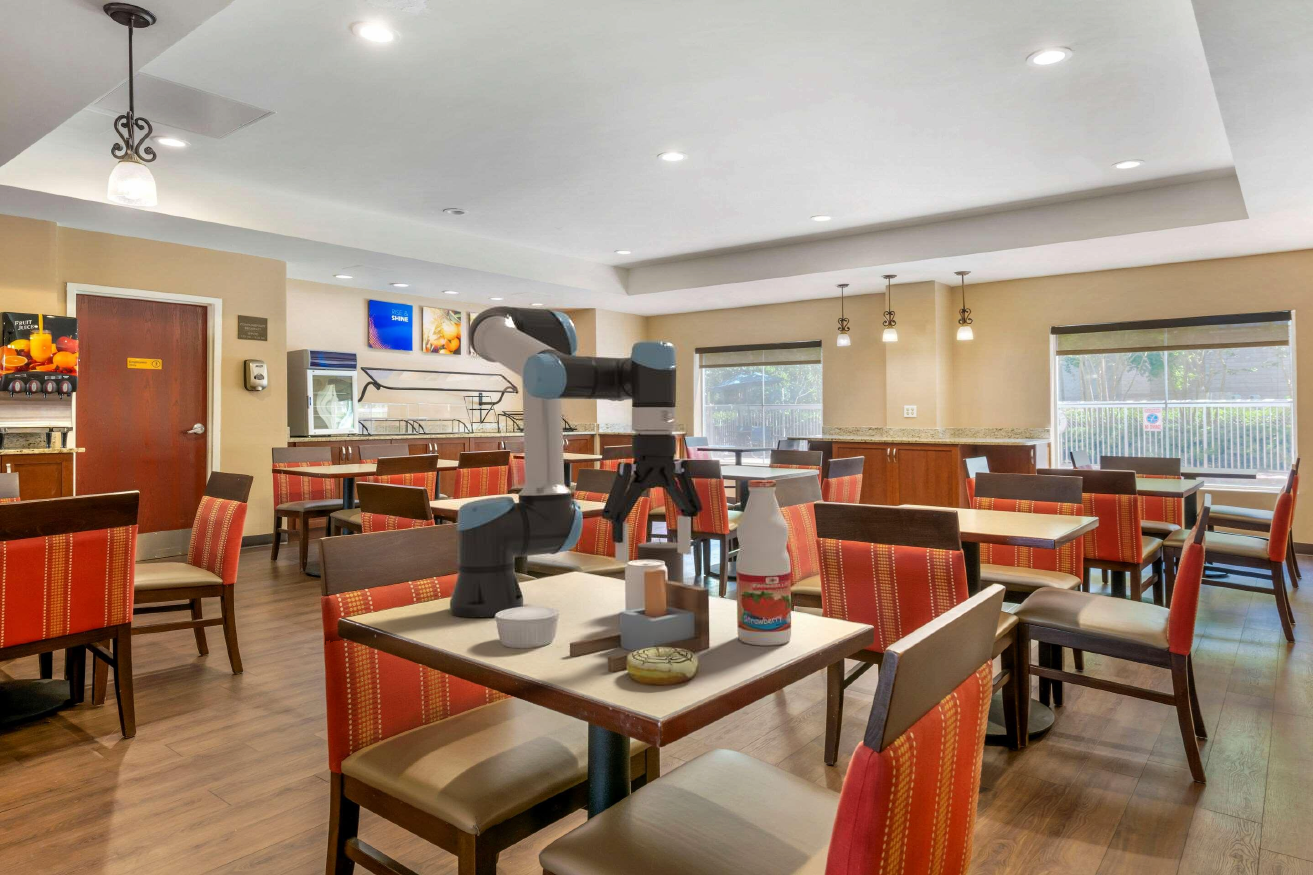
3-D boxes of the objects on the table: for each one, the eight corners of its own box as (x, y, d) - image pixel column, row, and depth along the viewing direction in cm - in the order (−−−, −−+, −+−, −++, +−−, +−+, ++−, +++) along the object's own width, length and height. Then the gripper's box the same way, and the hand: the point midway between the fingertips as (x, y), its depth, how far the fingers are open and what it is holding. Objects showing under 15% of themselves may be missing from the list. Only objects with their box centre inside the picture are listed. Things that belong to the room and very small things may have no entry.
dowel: (641, 641, 129) (640, 571, 129) (658, 637, 132) (657, 568, 131) (653, 645, 127) (652, 574, 126) (671, 641, 129) (669, 571, 128)
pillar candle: (647, 617, 151) (647, 542, 151) (630, 607, 160) (630, 536, 160) (691, 613, 155) (691, 539, 155) (672, 603, 164) (672, 534, 164)
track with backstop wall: (569, 654, 125) (569, 594, 125) (663, 634, 138) (663, 579, 138) (612, 671, 116) (612, 606, 116) (709, 647, 128) (708, 588, 128)
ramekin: (491, 637, 138) (490, 608, 138) (551, 631, 142) (551, 603, 142) (500, 653, 127) (500, 622, 127) (565, 646, 131) (565, 616, 131)
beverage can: (617, 627, 143) (617, 564, 143) (638, 618, 150) (637, 558, 150) (655, 632, 139) (654, 567, 139) (675, 622, 147) (674, 560, 147)
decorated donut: (706, 685, 110) (706, 659, 110) (633, 691, 107) (633, 664, 107) (688, 664, 120) (688, 640, 120) (621, 669, 118) (621, 645, 118)
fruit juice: (783, 631, 138) (781, 478, 139) (797, 645, 129) (795, 481, 129) (732, 633, 138) (730, 479, 138) (743, 647, 128) (740, 482, 128)
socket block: (620, 646, 130) (620, 611, 130) (661, 637, 135) (660, 604, 136) (653, 658, 123) (652, 621, 123) (694, 647, 128) (694, 612, 128)
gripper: (606, 433, 118) (606, 569, 119) (722, 432, 134) (722, 552, 134) (580, 433, 124) (580, 562, 125) (694, 432, 140) (694, 547, 140)
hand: (654, 557), depth 129 cm, fingers open, 13 cm apart
